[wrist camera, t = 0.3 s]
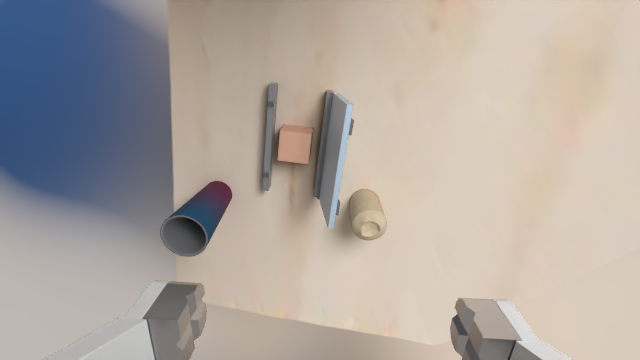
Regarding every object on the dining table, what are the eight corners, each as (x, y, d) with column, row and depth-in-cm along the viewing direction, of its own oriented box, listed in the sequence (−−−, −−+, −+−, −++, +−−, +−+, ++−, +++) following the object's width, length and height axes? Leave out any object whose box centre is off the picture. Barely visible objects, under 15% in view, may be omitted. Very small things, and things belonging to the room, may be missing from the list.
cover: (344, 103, 40) (357, 105, 41) (330, 92, 50) (341, 93, 50) (325, 228, 47) (336, 228, 47) (316, 197, 56) (325, 198, 57)
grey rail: (271, 82, 52) (268, 84, 49) (333, 90, 52) (333, 92, 50) (265, 184, 59) (262, 190, 56) (319, 191, 59) (318, 198, 56)
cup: (240, 208, 61) (212, 255, 47) (205, 211, 61) (167, 258, 47) (232, 174, 58) (201, 213, 44) (196, 178, 59) (154, 217, 45)
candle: (358, 220, 61) (362, 250, 51) (344, 197, 59) (346, 224, 50) (384, 207, 60) (394, 236, 50) (371, 183, 58) (378, 208, 49)
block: (284, 124, 55) (280, 130, 50) (313, 128, 55) (311, 134, 51) (281, 152, 56) (277, 160, 52) (309, 155, 57) (308, 164, 52)
